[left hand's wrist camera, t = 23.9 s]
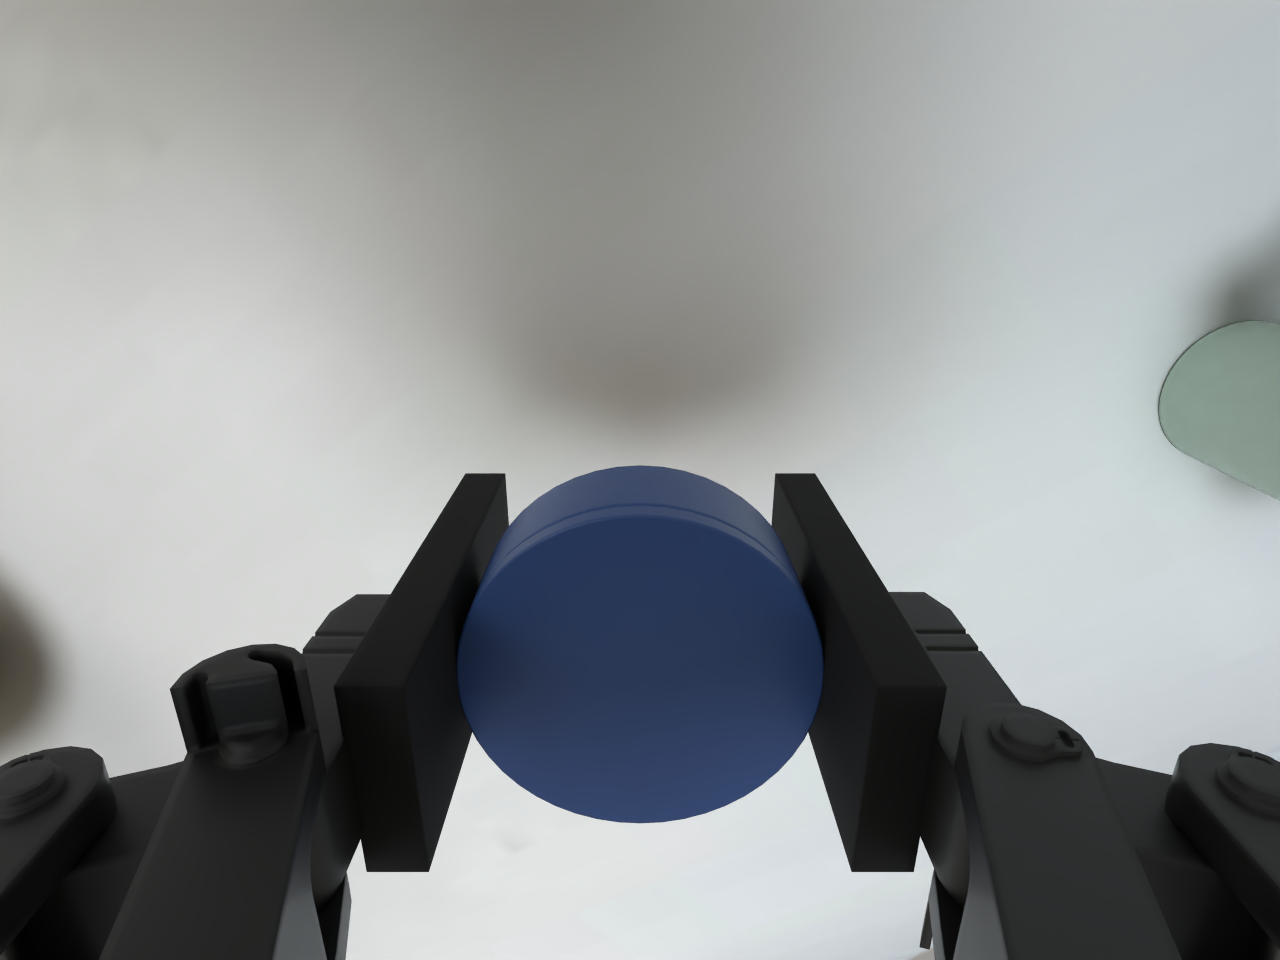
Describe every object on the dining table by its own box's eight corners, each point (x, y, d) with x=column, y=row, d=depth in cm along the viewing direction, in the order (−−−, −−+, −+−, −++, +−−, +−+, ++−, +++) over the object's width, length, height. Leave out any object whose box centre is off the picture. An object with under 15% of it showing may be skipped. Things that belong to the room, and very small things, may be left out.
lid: (843, 509, 12) (881, 567, 10) (742, 763, 13) (757, 853, 12) (517, 427, 11) (493, 472, 9) (458, 702, 13) (427, 785, 11)
